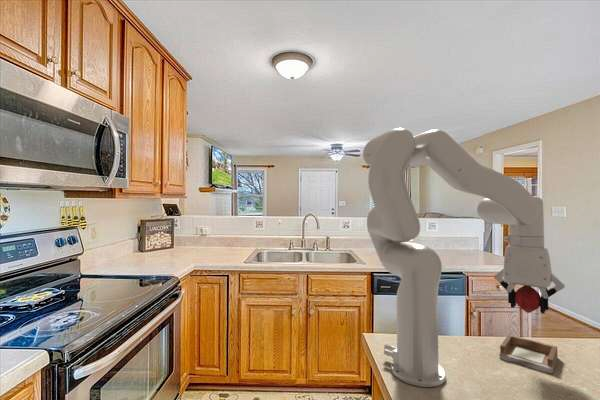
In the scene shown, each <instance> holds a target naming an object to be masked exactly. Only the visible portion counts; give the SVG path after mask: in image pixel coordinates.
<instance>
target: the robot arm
mask: <svg viewBox="0 0 600 400" xmlns="http://www.w3.org/2000/svg"><path fill="white" fill-rule="evenodd" d="M362 156H363V160H364V162H365V164H366V165H367V166H368V167H369V171H368V181H367V182H368V189H369V192H370V196H371V198H372V199H371V200H372V201H373V205H374V206H373V207H372V208H371V209H370V211H369V212H368V215H367V218H366V227H367V232H368V235H369V238H370V240H371V242H372V244H373V246H374V249H375V252H376V254H377V256H378V260H379V261H380V263H381V266H383V268H384V269H385V271H387V272H388V273H390V274H392V275H394V276H397V277H399V278H400V282H399V284H398V285H399V286H398V288H397V291H396V301H395V302H396V305H395V306H396V346H395V345H393V344H390V343H388V342H387V343H386V342H385V344H384V347H383V348H384V349H383V354H384V355H385V356H388V357H391V358H392V361H390V372H392V374H393V375H394V376H395V377H396V378H398V380H400V381H402V382H404V383H406V384H409V385H412V386H416V387H422V388H434V387H438V386H441V385H443V383H445V382H446V379H447V378H446V377H447V374H446V371H445V369H444V368H443V367H442V365H440V364H439V315H438V314H439V312H438V311H439V310H438V309H439V308H438V307H439V305H438V302H439V300H438V299H439V297H438V296H439V287H440V286H439V285H440V280H441V277H442V270H443V269H442V268H443V267H442V266H443V265H442V261H441V258H440V256H439V255H438V253H437V252H436V251H435V250H434V249H432V247H429V246H427V245H424V244H420V243H416V242H411V241H414V240H415V239H416V238H417V237H418V236H419V235H420V231H421V224H420V220H419V216H418V213H417V211H416V209H415V206H414V203H413V201H412V199H411V195H410V194H409V191H408V188H407V185H406V178H405V174H406V170H407V169H411V168H419V167H423V166H428V167H429V168H430V169H431V170H433V172H435V173H436V174H437V175H438V176H440V178H441V179H442V180H444V181H445V182H446V183H447V184H448V185H449V186H450V187H451V188H453V189H455V190H457V191H460V192H463V193H467V194H471V195H476V196H479V197H482V198H484V199H482V200H481V201H480V202H479V203H478V205H477V206H476V207H477V208H476V211H477V212H476V213H477V216H478V217H479V218H480V219H481V220H483V221H484V222H485V223H489V224H495V225H508V226H509V235H508V236H503V242H506V243H508V244H509V245H505V251H504V257H503V269H502V270H500V271H499V272H497V273H496V274H494V275H493V278H494V280H496V281H497V282H498V283H499V284H500V285H501V286H502V287H503V288H504V289H505V290H506V293H507V294H508V295H507V302H508V304H510V308H515V307H516V306H517V303H516V302H515V298H514V297H515V293H516V290H515V287H516V285H518V286H519V285H520V286H524V285H525V286H531V287H532V288H538V291H540V293H541V295H540V297H541V298H540V307H539V309H540V313H541V314H545V313H546V311H549V298H550V297H552V296H553V295H555V294H556V293H558V292H559V291H562V290H563V289H565V286H566V285H565V284H564V283H563V282H562V281H561V280H560V279H559V278H558V277H557V276H556V275H554V274H553V273H552V264H551V259H550V254H549V250H548V248H546V247H545V225H544V224H545V222H544V220H545V218H544V216H545V214H544V202H543V199H542V198H541V197H539V196H533V195H532V194H531V192H530V191H529V190H527V188H525V187H524V186H523V185H522V184H521V183H520V182H518V181H517V180H516V179H514V178H512V177H510V176H508V175H506V174H503V173H501V172H499V171H497V170H494V169H492V168H490V167H487V166H485V165H482V164H480V162H478V161H477V160H476V159H475V158H474V157H473V156H472V155H471V154H470V153H469V152H468V151H466V150H465V149H464V148H463V147H462V146H461V145H460V144H459V143H458V142H457V141H456V140H455V139H454V138H453V137H452V136H451V135H449V134H448V133H447V132H446V131H445V130H442V129H431V130H428V131H425V132H422V133H419V134H417V135H414V134H413V132H411V131H410V130H409V129H406V128H402V127H399V128H398V127H397V128H393V129H390V130H389V131H388V130H387V131H386V132H384V133H382V134H380V135H378V136H376V137H373V138H372V139H370V140H369V141H367V143H366V145H365V146H364V148H363V151H362ZM552 283H553V284H555V285H554V286H553V287H551V288H549V287H550V286H551V284H552ZM548 288H549V289H548Z"/></svg>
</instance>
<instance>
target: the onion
mask: <svg viewBox="0 0 600 400" xmlns="http://www.w3.org/2000/svg"><path fill="white" fill-rule="evenodd" d="M515 292H516V293H515V297H514V298H515V302H516V306H518V307H519V308H520V309H521V310H522V311H524V312H525V313H527V314H530V313H531V314H532V312H534V311H536V310H537V309H540V298H541V295H540V293H539V292H538V291H537V290H536V289H535V287H532V286H525V285H522V286H521V287H519V288H517V290H515Z"/></svg>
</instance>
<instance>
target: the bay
mask: <svg viewBox="0 0 600 400" xmlns="http://www.w3.org/2000/svg"><path fill="white" fill-rule="evenodd" d="M499 347H500V351H499V359H502V360H505V361H508V362H511V363H515V364H518V365H522V366H525V367H528V368H531V369H536V370H537V371H541V372H544V373H548V374H551V375H553V374H554V370H555V367H556V364H557V361H558V358H559V357H558V346H556V345H553V344H548V343H544V342H540V341H537V340H532V339H528V338H525V337H521V336H516V335H513V334H507V336H506V337H505V339H504V340H503V341H502V343H501V344H500V346H499Z"/></svg>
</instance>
